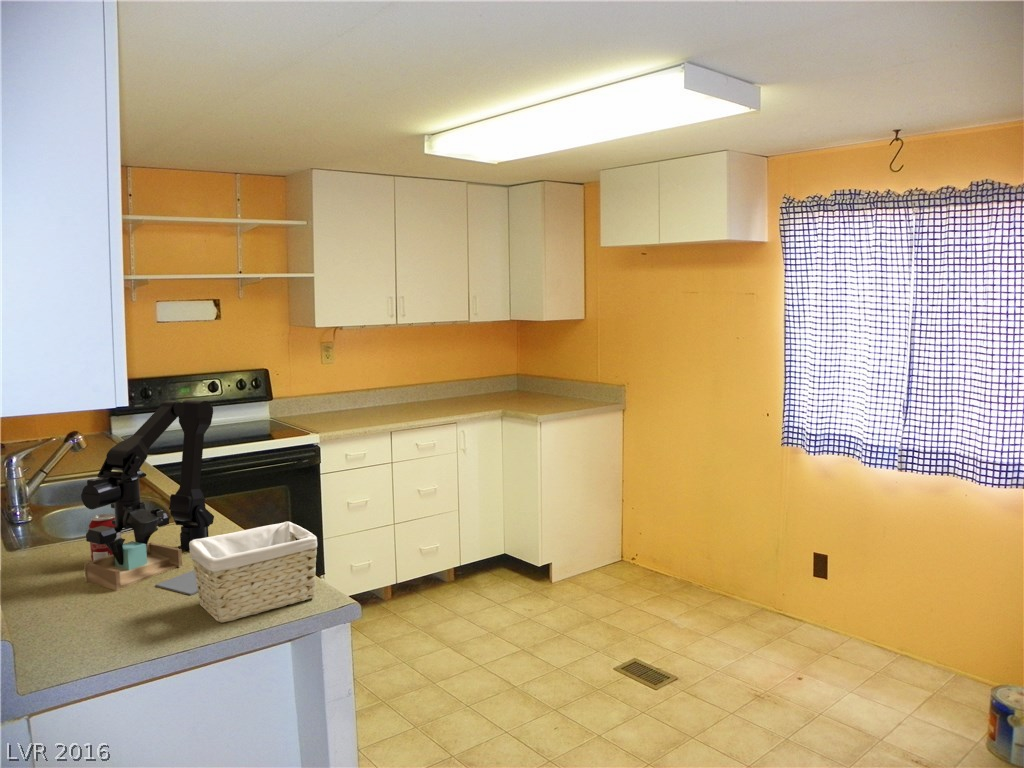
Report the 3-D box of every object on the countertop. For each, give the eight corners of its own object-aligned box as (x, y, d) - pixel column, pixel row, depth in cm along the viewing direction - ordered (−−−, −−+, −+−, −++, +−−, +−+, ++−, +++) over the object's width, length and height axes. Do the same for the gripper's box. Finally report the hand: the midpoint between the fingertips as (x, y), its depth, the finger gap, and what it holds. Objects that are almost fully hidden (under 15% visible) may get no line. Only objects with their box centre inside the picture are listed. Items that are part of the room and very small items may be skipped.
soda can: (109, 568, 199) (106, 521, 197) (85, 566, 200) (82, 519, 199) (127, 559, 205) (124, 513, 204) (104, 557, 207) (101, 512, 205)
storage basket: (213, 628, 163) (209, 558, 162) (189, 604, 176) (185, 539, 174) (322, 600, 178) (320, 535, 176) (293, 579, 191) (290, 519, 189)
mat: (197, 570, 197) (197, 568, 197) (232, 578, 191) (232, 576, 191) (155, 586, 186) (155, 584, 186) (190, 595, 181) (190, 593, 181)
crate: (151, 559, 205) (150, 542, 204) (182, 566, 200) (181, 549, 199) (85, 582, 189) (84, 563, 189) (116, 590, 184) (115, 571, 183)
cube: (133, 560, 198) (132, 541, 198) (147, 563, 196) (146, 544, 195) (115, 566, 194) (114, 546, 193) (128, 570, 191) (127, 550, 191)
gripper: (113, 512, 181) (117, 579, 183) (182, 493, 197) (185, 555, 199) (82, 506, 186) (87, 571, 188) (152, 488, 202) (155, 548, 204)
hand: (131, 561), depth 195 cm, fingers closed on cube, 5 cm apart
